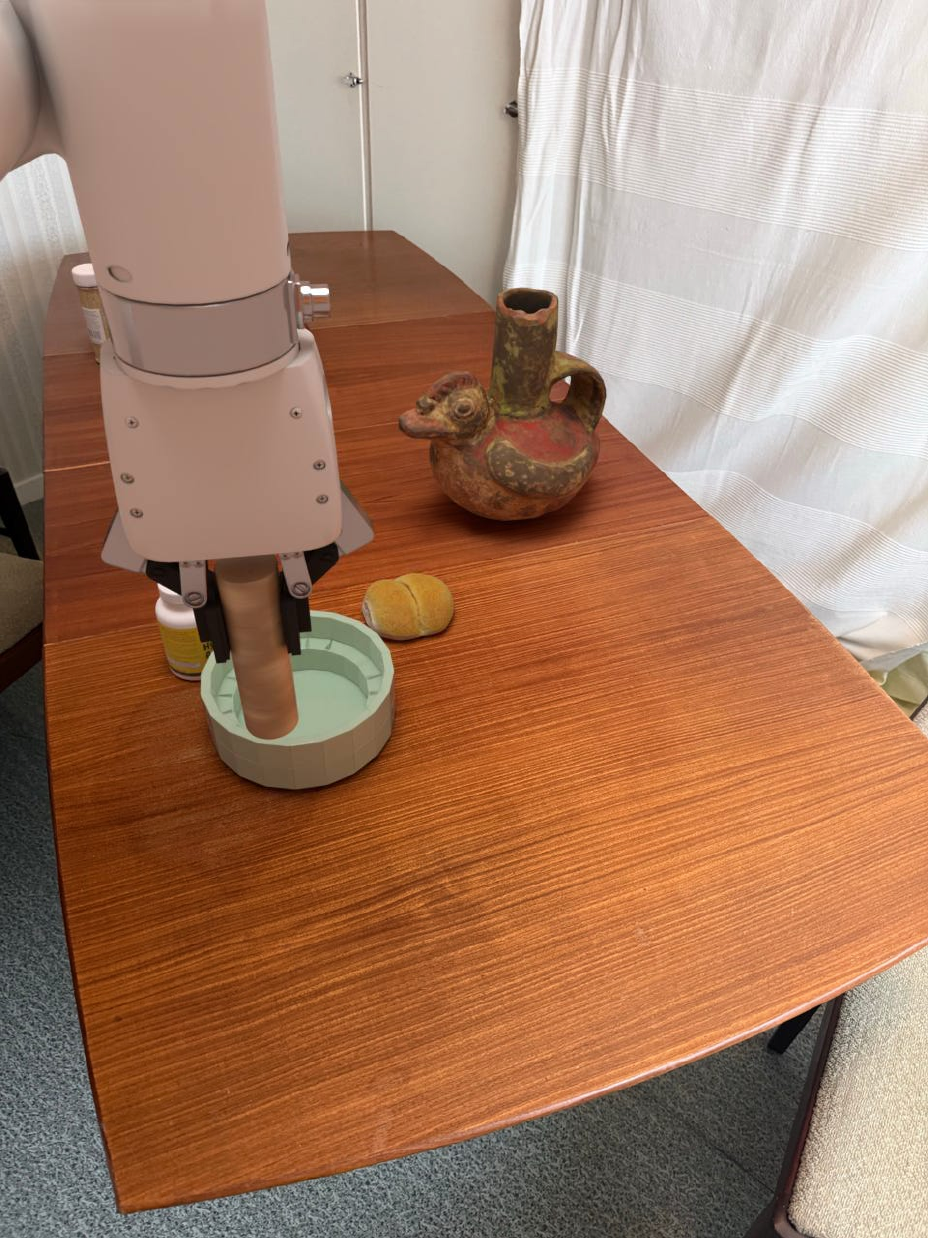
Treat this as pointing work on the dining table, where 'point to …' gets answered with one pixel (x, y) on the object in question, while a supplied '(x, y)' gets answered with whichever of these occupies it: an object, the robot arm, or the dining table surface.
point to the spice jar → (91, 306)
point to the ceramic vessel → (514, 419)
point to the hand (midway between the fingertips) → (258, 639)
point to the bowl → (311, 708)
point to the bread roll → (408, 606)
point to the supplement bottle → (181, 636)
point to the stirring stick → (258, 643)
